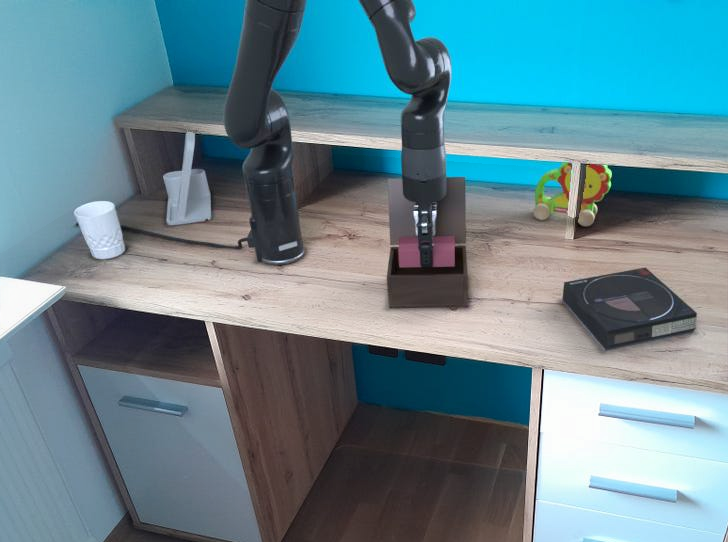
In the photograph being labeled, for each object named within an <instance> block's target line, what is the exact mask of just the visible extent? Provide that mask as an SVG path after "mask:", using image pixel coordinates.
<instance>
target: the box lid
mask: <svg viewBox="0 0 728 542" xmlns="http://www.w3.org/2000/svg"><path fill="white" fill-rule="evenodd" d="M446 188H447V192H446V195H445V197H444V198H443V199H441V200H439V201H435V202H436V203H437V212H436V214H437V216H436V223H435V235H433V237H436V236H454V239H455V245H457V244H458V245H459V244H460V245H461V244H467V212H466V211H467V210H466V209H467V208H466V207H467V206H466V203H467V202H466V201H467V200H466V199H467V198H466V196H467V195H466V176H446ZM387 192H388V193H387V197H388V220H389V221H388V222H389V223H388V224H389V245H390V246H399V237H418V236H417V235H416V225H415V219H414V203H415V202H411V201H409V200H407V199H406V198H405V197H404V195H403V185H402V177H401V178H387Z"/></svg>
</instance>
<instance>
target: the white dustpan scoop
mask: <svg viewBox="0 0 728 542" xmlns="http://www.w3.org/2000/svg"><path fill="white" fill-rule="evenodd" d="M186 130H187V129H186ZM187 131H188V130H187ZM195 143H196V132H195V133H193V132H187V133H186V132H185V139H184V149H183V159H182V168H181V170H175V171H169V172H166V173H165V174H163V176H162V179H163V182H164V186H165V190H166V193H167V207H166V208H167V209H166V219H165V221H166V224H167V226H177V225H178V226H179V225H184V224H191V223H199V222H200V223H201V222H205V221H206V220H208V221H210V220H211V219H212V201H211V200H212V199H211V197H212V196H211V191H210V187H209V183H208V179H207V178H208V177H207V175H206V171H205V170H204V169H202V168H192V166H193V158H194V152H195V151H194V150H195Z"/></svg>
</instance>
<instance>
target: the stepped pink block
mask: <svg viewBox="0 0 728 542" xmlns="http://www.w3.org/2000/svg"><path fill="white" fill-rule="evenodd" d="M422 242H429V241H422ZM433 244H434V247H433V250H432V254H433V266H432V267H454V266H455V246H456V244H455V239H454V236H436V237H433ZM398 247H399V249H398V254H399V267H421V265H420V251H419V249H418V237H399V245H398Z"/></svg>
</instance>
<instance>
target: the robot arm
mask: <svg viewBox="0 0 728 542" xmlns="http://www.w3.org/2000/svg"><path fill="white" fill-rule="evenodd" d="M357 1H358V2H359V4H360V6H361V8H362V10H363V12H364V13H365V15H366V17H367V19H368V21H369V23H370V24H371V26H372V28H373V29H374V32H375V37H376V41H377V44H378V45H377V46H378V48H379V52H380V56H381V58H382V62H383V65H384V68H385V71H386V73H387V75H388V78H389V79H390V81H391V82H392V84H393V85H394V86H395V87H396V88H397V89H398V90H399V91H400V92H402V93H403V94H405V95H408V96H409V95H410V96H411V97H410V99H409V102H407V104H406V105H405V107H403V109H402V110H401V113H400V134H401V135H400V136H401V152H400V164H401V165H400V166H401V178H402V185H403V195H404V197H405V198H406V199H407V200H409V201H411V202H415V203H414V219H415V225H416V235H417V236H418V249H419V251H420V265H421V267H432V266H433V254H432V250H433V247H434V244H433V235H435V223H436V216H437V214H436V212H437V203H436V202H435V201H439V200H441V199H443V198H444V197H445V195H446V192H447V188H446V177H447V153H446V152H447V151H446V146H445V118H444V117H445V111H446V108H447V103H448V98H449V92H450V87H451V81H452V74H453V73H452V70H453V69H452V67H453V66H452V59H451V56H450V55H451V54H450V52H449V50H448V48H447V46H446V45H445V43H444V41H441V40H440V39H438V38H436V37H431V36H429V37H422V38H420V39H418V40H415V37H414V34H413V31H412V28H411V24H412V23H413V22H414V20H415V18H416V16H417V9H416V6H415V4H414V2H413V0H357ZM307 3H308V0H245V6H244V13H243V19H242V20H243V21H242V27H241V31H240V32H241V33H240V38H239V44H238V49H237V55H236V60H235V66H234V69H233V74H232V78H231V81H230V83H229V87H228V92H227V95H226V98H225V102H224V106H223V111H222V121H223V122H222V123H223V126H224V130H225V133H226V135H227V137H228V138H229V140H230V141H231V142H232V143H233V145H235V146H237V147H238V148H240V149H245V150H249V149H250V151H249V153H248V155H247V156H246V158H245V159H244V161H243V163H242V167H241V168H242V174H243V175H242V176H243V179H244V184H245V191H246V194H247V199H248V204H249V209H250V214H251V215H250V217H249V220H248V221H249V226H250V230H249V232H248V235H247V236H246V237H243V238H239V240H238V241H237V245H234V246H232V245H224V244H218V243H214V242H208V241H200V240H192V239H185V238H180V237H175V236H170V235H165V234H162V233H156V232H152V231H148V230H145V229H140V228H136V227H132V226H127V225H121V224H120V227H121V230H126V231H132V232H134V233H135V232H136V233H141V234H143V235H147V236H148V235H149V236H152V237H156V238H161V239H165V240H170V241H174V242H179V243H183V244H184V243H185V244H190V245H199V246H205V247H213V248H219V249H230V250H231V249H232V250H240V249H242V248H243V243H244V242H247V246H248V249H253V248H254V250H255V255H256V260H257V263H264V264H266V265H271V266H283V265H289V264H292V263H295V262H297V261H299V260H301V259H303V257H304V256H305V253H306V250H305V246H304V241H303V240H304V239H303V234H302V227H301V222H300V214H299V209H298V202H297V197H296V195H297V194H296V190H295V183H294V178H293V170H292V165H293V162H294V161H293V160H294V146H293V137H292V127H291V120H290V119H291V118H290V114H289V110H288V108H287V104H286V102H285V101H284V98H283V97H282V96H281V94H279V92H278V91H277V90H276V89H273V88H272V87H273V84H274V81H275V79H276V77H277V75H278V73H279V72H280V71H281V69H282V67H283V66H284V64H285V62H286V60H288V57H289V55H290V53H291V52H292V50H293V48H294V46H295V45H296V42H297V40H298V38H299V35H300V32H301V29H302V26H303V25H302V24H303V20H304V16H305V11H306V7H307ZM75 226H76V227H78V226H79V224H78V222H77V221H76V224H75ZM422 241H429V242H422Z"/></svg>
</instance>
